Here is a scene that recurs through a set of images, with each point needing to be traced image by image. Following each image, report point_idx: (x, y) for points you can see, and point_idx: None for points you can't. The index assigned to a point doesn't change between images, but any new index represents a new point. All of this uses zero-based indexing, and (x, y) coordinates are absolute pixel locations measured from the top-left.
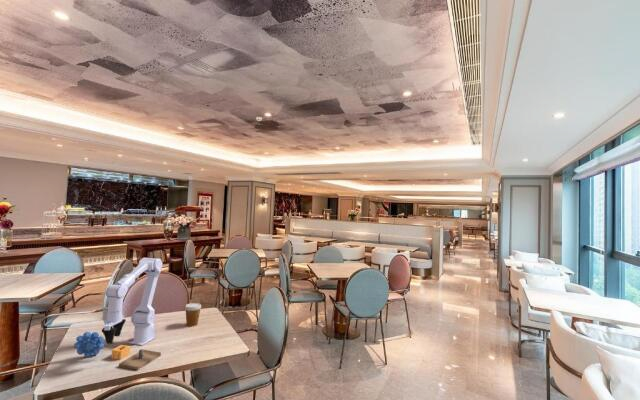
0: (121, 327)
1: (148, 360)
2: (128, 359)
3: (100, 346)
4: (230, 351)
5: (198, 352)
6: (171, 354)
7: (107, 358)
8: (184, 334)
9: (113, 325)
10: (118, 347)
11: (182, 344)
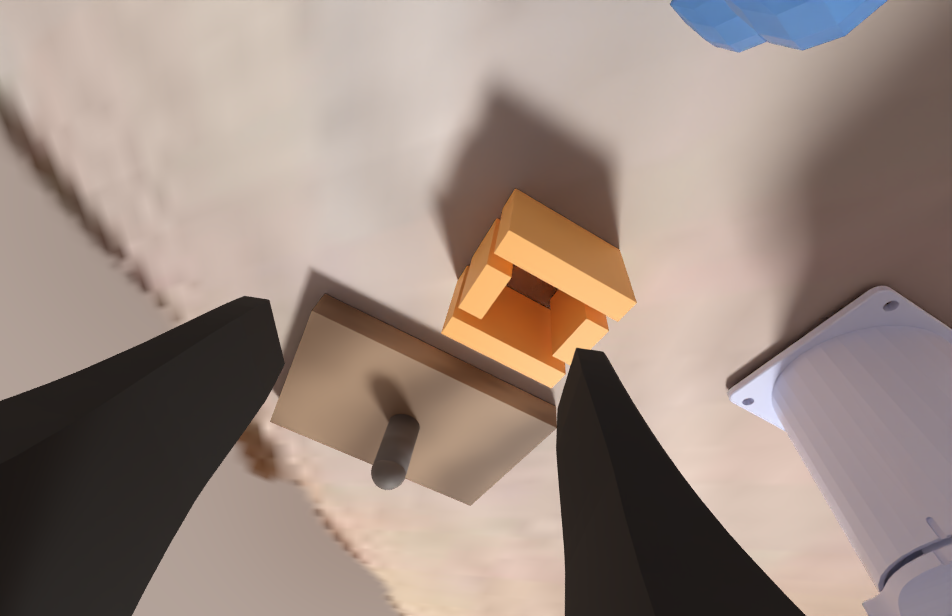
0: (566, 610)
1: (362, 459)
2: (384, 361)
3: (684, 3)
4: None
5: (470, 589)
6: (475, 520)
7: (524, 144)
8: (783, 580)
9: (640, 602)
10: (560, 288)
11: None
